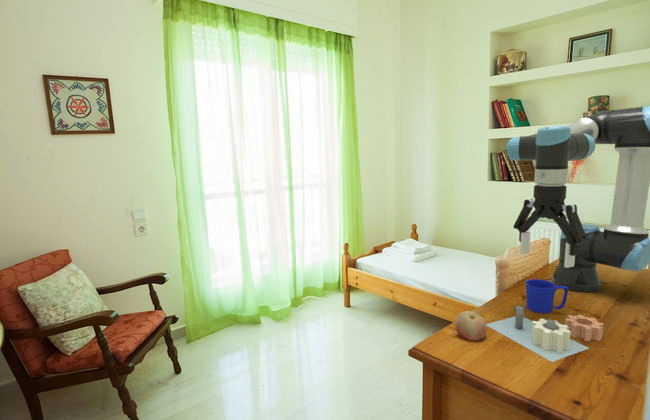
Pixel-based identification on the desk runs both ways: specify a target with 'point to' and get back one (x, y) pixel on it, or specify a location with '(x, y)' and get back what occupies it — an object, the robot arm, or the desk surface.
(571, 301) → the desk surface
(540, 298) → the mug
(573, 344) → the gear board
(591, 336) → the loose gear
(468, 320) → the fruit
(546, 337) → the gear
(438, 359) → the desk surface
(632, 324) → the desk surface
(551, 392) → the desk surface
